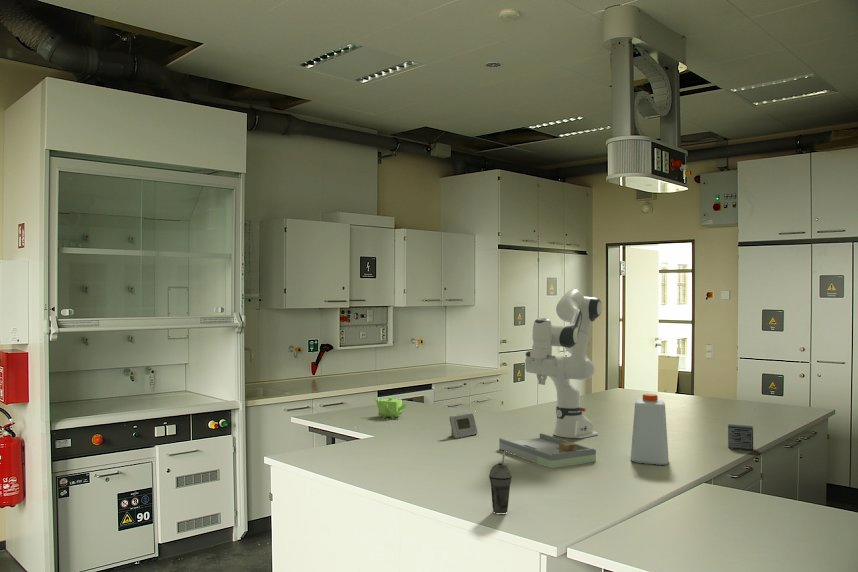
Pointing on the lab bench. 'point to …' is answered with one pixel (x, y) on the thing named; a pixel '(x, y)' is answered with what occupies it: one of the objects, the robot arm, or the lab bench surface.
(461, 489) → the lab bench surface
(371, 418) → the lab bench surface
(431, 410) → the lab bench surface
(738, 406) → the lab bench surface
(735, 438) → the small box
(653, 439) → the plastic bottle
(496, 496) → the beverage cup
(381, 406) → the kettle
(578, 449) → the box
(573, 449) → the walnut block
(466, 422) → the digital clock
